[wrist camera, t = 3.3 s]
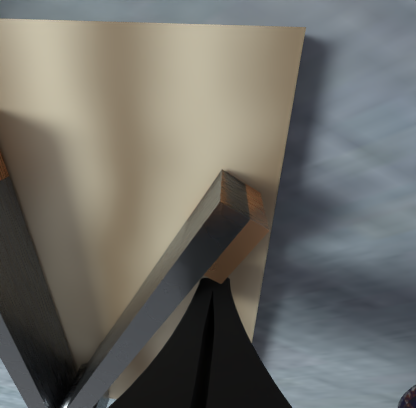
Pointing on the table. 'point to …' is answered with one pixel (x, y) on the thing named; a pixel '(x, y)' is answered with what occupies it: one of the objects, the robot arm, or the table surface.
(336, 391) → the table surface
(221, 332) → the robot arm
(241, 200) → the arm
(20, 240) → the tongs fixed arm
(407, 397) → the storage jar
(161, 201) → the board
